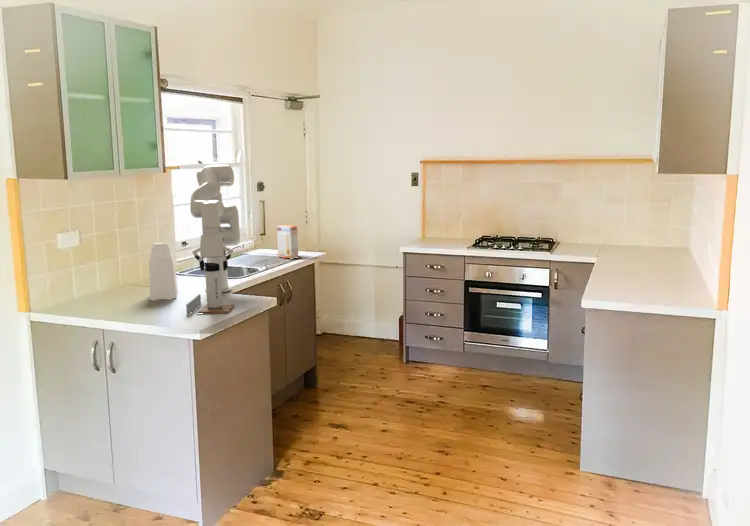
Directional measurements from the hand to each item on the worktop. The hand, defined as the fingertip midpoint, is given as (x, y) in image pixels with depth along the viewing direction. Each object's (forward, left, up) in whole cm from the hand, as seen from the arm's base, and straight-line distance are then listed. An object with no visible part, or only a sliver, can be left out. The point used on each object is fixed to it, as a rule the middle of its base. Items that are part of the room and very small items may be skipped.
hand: (214, 270), depth 290 cm
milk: (-29, -32, -18) cm, 47 cm away
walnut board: (0, 0, -18) cm, 18 cm away
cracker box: (-138, +13, -18) cm, 140 cm away
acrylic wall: (-1, -10, -18) cm, 20 cm away
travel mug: (0, -1, -17) cm, 17 cm away
